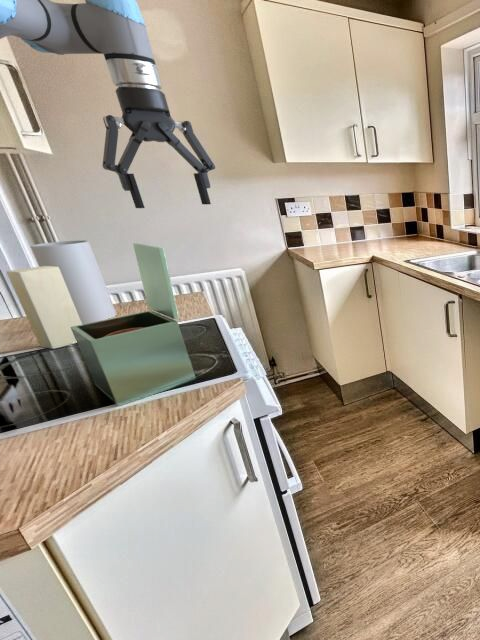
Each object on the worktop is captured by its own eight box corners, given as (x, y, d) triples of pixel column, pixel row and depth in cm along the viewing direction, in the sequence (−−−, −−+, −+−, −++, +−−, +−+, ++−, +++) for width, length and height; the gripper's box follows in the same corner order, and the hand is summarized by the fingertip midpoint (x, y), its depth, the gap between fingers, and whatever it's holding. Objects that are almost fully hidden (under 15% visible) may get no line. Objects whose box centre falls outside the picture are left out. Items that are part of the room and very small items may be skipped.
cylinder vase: (84, 328, 129) (50, 246, 120) (55, 326, 132) (19, 246, 123) (127, 316, 141) (98, 240, 132) (99, 314, 143) (69, 240, 134)
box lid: (158, 248, 83) (163, 248, 84) (132, 243, 92) (137, 243, 92) (174, 319, 88) (179, 318, 88) (148, 308, 96) (152, 307, 97)
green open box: (118, 406, 83) (90, 341, 78) (96, 386, 91) (70, 326, 86) (196, 380, 93) (177, 321, 88) (170, 364, 102) (151, 310, 97)
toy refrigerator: (75, 336, 123) (44, 265, 115) (89, 339, 120) (59, 266, 113) (38, 346, 116) (3, 271, 108) (53, 349, 113) (17, 272, 106)
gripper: (59, 76, 71) (108, 210, 79) (215, 94, 89) (241, 202, 97) (50, 82, 75) (97, 209, 83) (200, 99, 93) (227, 202, 101)
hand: (175, 206), depth 90 cm, fingers open, 11 cm apart
